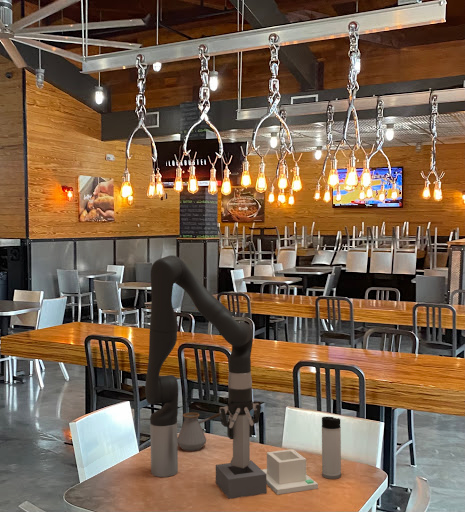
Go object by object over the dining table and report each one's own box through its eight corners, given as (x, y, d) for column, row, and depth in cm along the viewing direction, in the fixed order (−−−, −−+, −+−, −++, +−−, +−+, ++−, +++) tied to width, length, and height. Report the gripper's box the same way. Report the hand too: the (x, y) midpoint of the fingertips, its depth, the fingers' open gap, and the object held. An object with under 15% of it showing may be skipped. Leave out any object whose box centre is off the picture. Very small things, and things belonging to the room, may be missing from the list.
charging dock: (256, 474, 209) (256, 449, 209) (294, 469, 214) (294, 444, 213) (277, 494, 192) (277, 467, 192) (317, 488, 197) (317, 461, 196)
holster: (215, 483, 202) (215, 464, 202) (251, 478, 206) (251, 460, 206) (228, 498, 189) (228, 479, 189) (266, 493, 193) (266, 474, 193)
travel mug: (317, 476, 207) (317, 417, 206) (329, 471, 212) (328, 413, 211) (333, 481, 202) (333, 420, 202) (344, 475, 207) (344, 416, 207)
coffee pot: (173, 452, 233) (173, 412, 233) (180, 442, 244) (179, 404, 244) (229, 453, 230) (229, 413, 230) (233, 444, 242) (233, 405, 242)
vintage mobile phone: (237, 461, 201) (236, 385, 200) (249, 465, 198) (249, 388, 197) (230, 465, 198) (229, 388, 197) (243, 468, 195) (242, 390, 194)
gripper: (256, 381, 203) (256, 431, 204) (214, 384, 198) (215, 436, 199) (265, 386, 196) (265, 438, 197) (222, 390, 191) (222, 443, 192)
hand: (240, 437), depth 198 cm, fingers closed on vintage mobile phone, 5 cm apart
